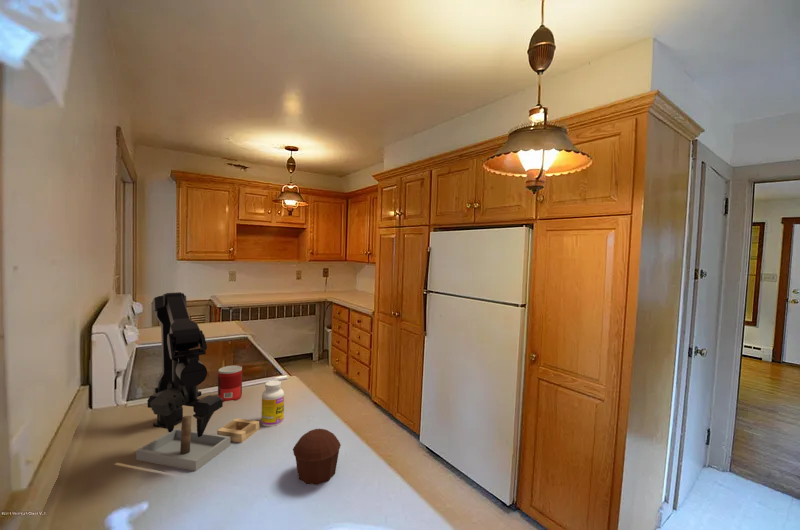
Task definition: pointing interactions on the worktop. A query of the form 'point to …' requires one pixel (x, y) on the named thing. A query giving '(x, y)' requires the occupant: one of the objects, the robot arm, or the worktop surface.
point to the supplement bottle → (272, 404)
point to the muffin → (316, 456)
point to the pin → (185, 434)
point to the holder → (239, 429)
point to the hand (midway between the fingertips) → (185, 434)
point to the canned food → (230, 383)
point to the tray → (169, 450)
